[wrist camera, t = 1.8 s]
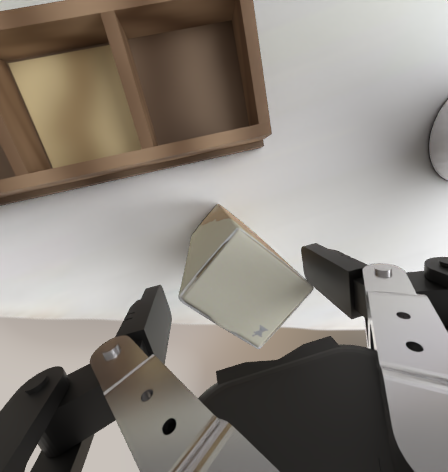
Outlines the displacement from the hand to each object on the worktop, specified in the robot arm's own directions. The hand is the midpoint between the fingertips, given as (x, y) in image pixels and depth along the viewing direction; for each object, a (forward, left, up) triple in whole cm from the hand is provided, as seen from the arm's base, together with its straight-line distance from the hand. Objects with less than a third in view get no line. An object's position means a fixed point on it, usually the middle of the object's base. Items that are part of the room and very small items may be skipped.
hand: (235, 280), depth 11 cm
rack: (+8, -12, -9) cm, 17 cm away
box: (0, 0, -9) cm, 9 cm away
